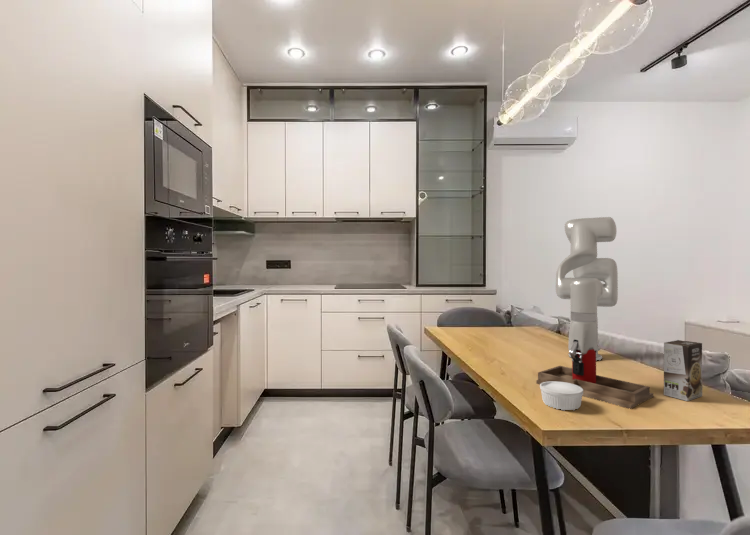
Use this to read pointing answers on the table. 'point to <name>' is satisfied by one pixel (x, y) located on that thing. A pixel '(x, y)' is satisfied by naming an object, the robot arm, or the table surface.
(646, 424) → the table surface
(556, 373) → the brown wooden tray
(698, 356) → the coffee box
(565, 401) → the ramekin
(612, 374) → the table surface
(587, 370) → the beverage can
